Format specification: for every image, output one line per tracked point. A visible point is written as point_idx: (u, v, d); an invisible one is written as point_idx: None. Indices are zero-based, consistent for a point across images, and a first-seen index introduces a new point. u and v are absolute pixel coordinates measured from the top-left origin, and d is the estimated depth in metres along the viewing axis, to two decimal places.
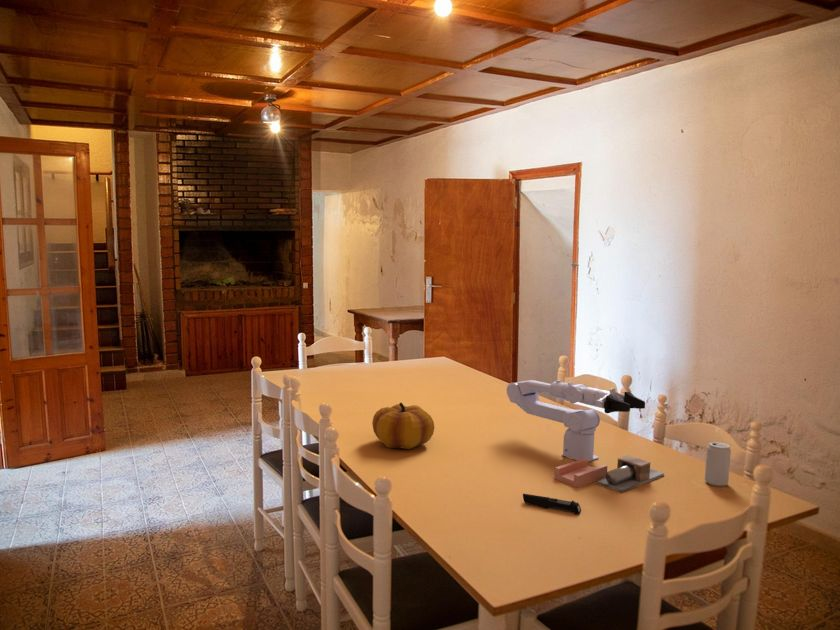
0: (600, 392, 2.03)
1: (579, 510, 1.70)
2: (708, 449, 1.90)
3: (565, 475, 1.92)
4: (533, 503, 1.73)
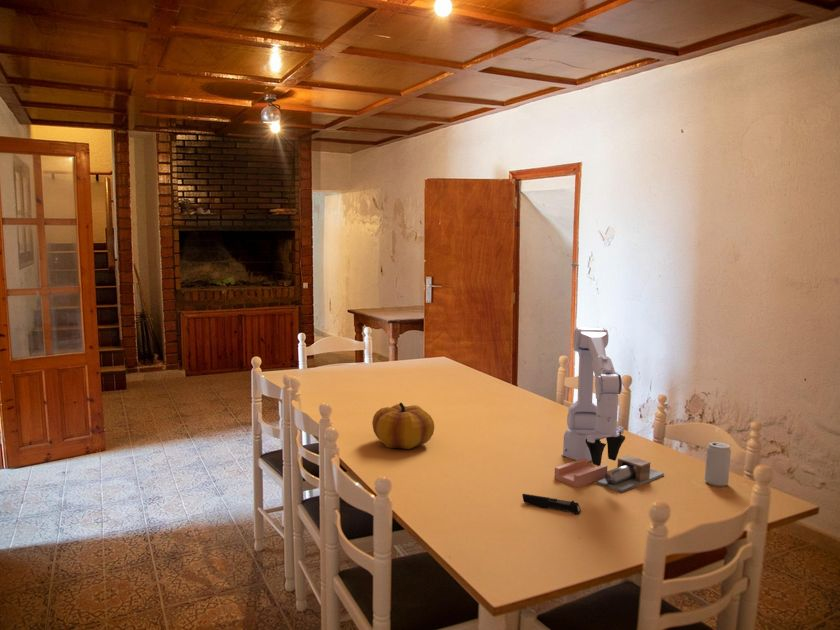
0: (610, 423, 1.79)
1: (579, 510, 1.70)
2: (708, 449, 1.90)
3: (565, 475, 1.92)
4: (533, 503, 1.73)
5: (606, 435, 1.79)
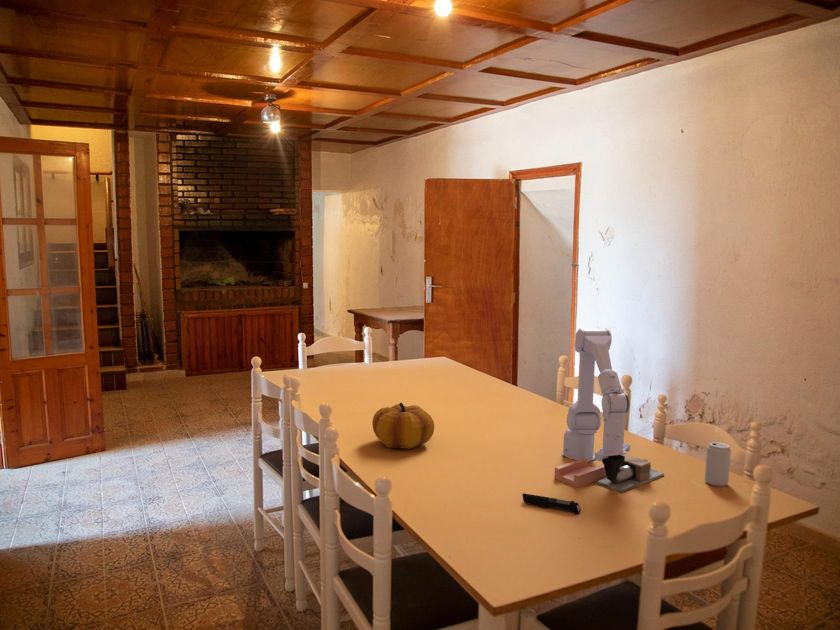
0: (617, 441, 1.83)
1: (578, 510, 1.70)
2: (708, 449, 1.90)
3: (565, 475, 1.92)
4: (533, 503, 1.73)
5: (613, 453, 1.82)
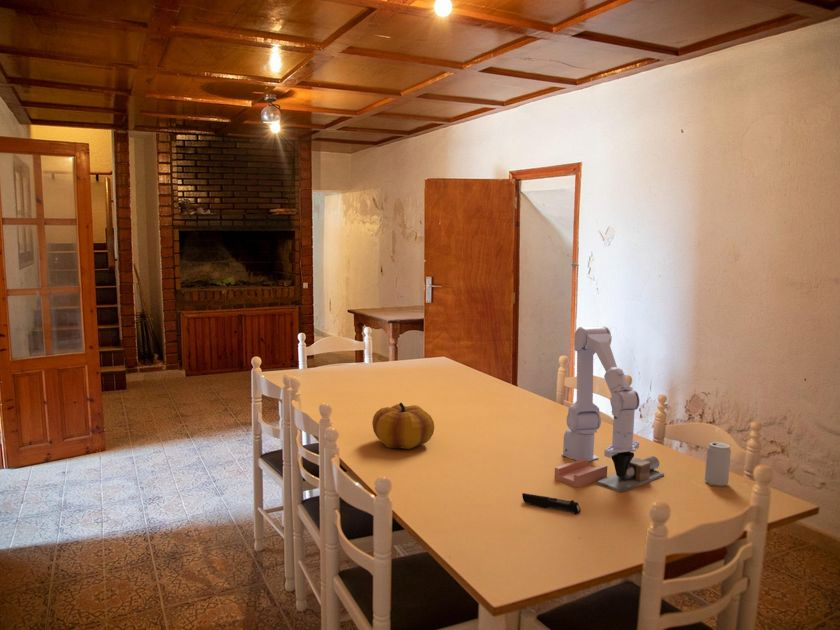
0: (626, 438, 1.85)
1: (578, 510, 1.70)
2: (708, 449, 1.90)
3: (565, 475, 1.92)
4: (532, 503, 1.73)
5: (623, 450, 1.85)
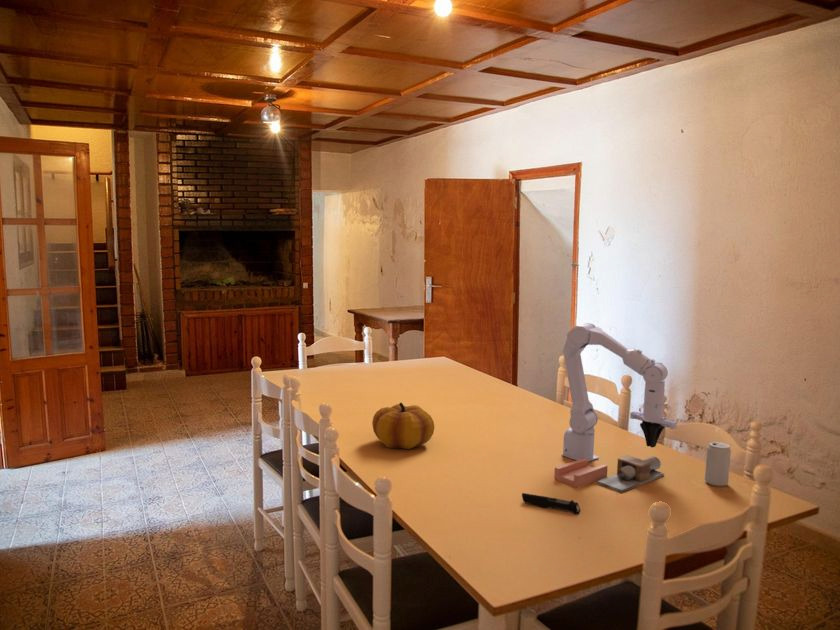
0: (644, 407, 1.97)
1: (578, 510, 1.70)
2: (708, 449, 1.90)
3: (565, 475, 1.92)
4: (532, 503, 1.73)
5: (640, 417, 1.98)
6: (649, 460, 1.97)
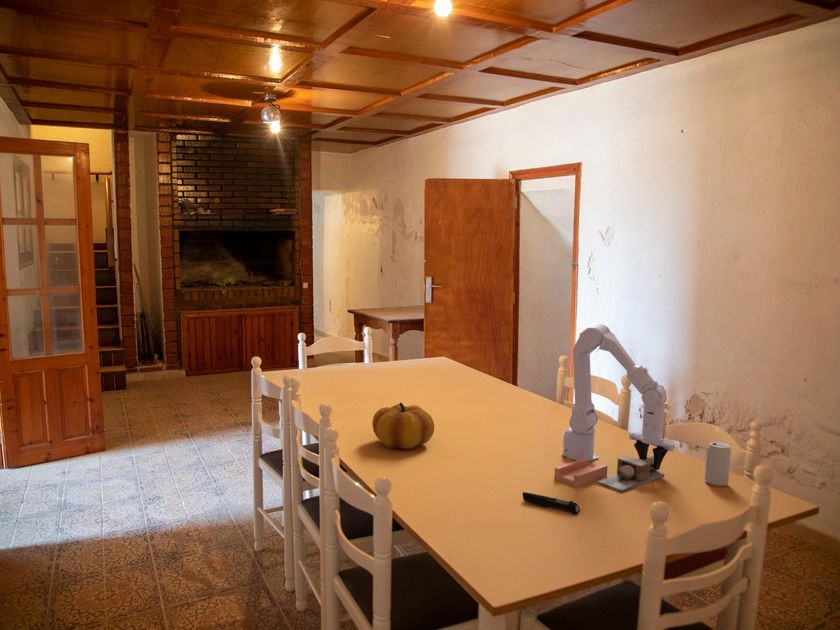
0: (643, 429, 1.98)
1: (577, 510, 1.69)
2: (708, 449, 1.90)
3: (565, 475, 1.92)
4: (532, 502, 1.74)
5: (639, 438, 1.99)
6: (647, 459, 1.97)
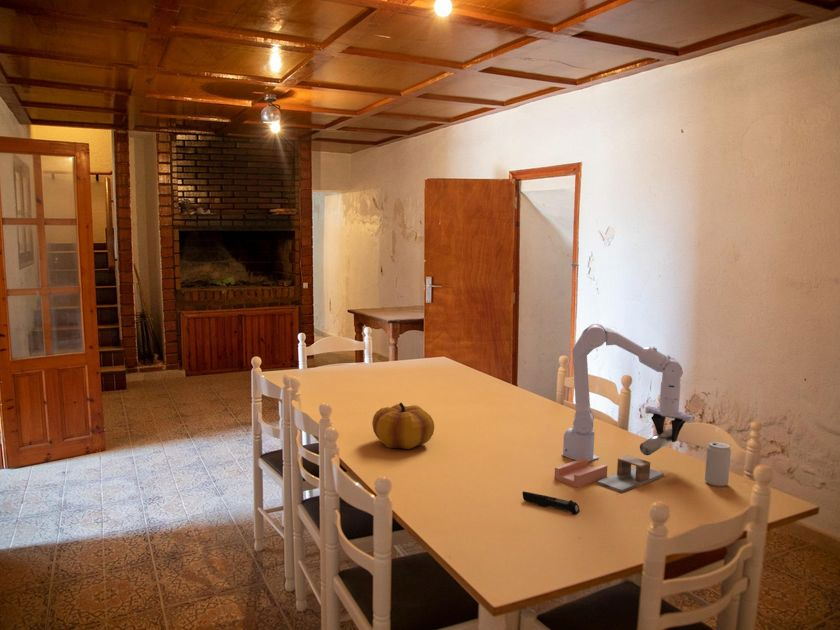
0: (661, 402, 2.02)
1: (577, 510, 1.69)
2: (708, 449, 1.90)
3: (565, 475, 1.92)
4: (532, 501, 1.74)
5: (657, 411, 2.04)
6: (664, 432, 2.02)
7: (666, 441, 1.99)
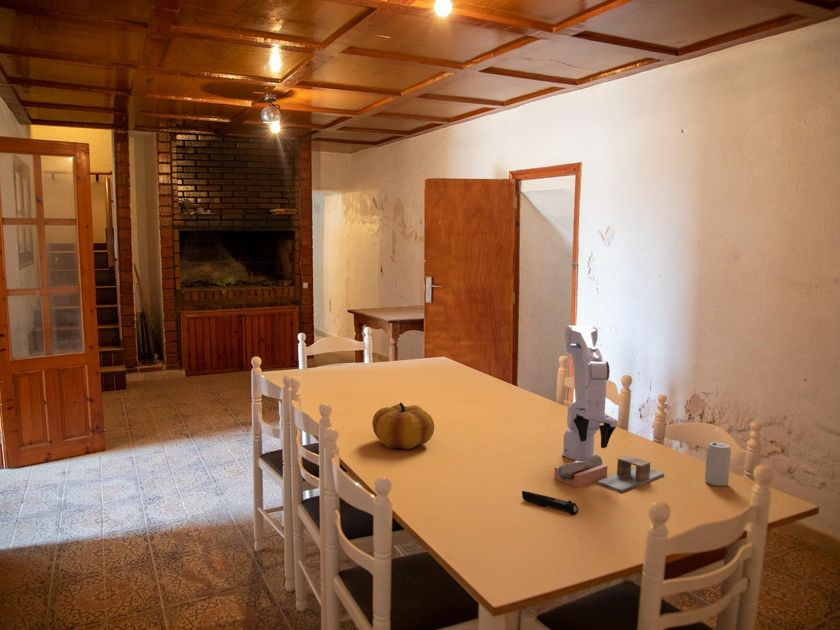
0: (586, 405, 1.95)
1: (575, 510, 1.69)
2: (708, 449, 1.90)
3: None
4: (531, 501, 1.74)
5: (582, 414, 1.96)
6: (589, 458, 1.96)
7: (588, 467, 1.93)
